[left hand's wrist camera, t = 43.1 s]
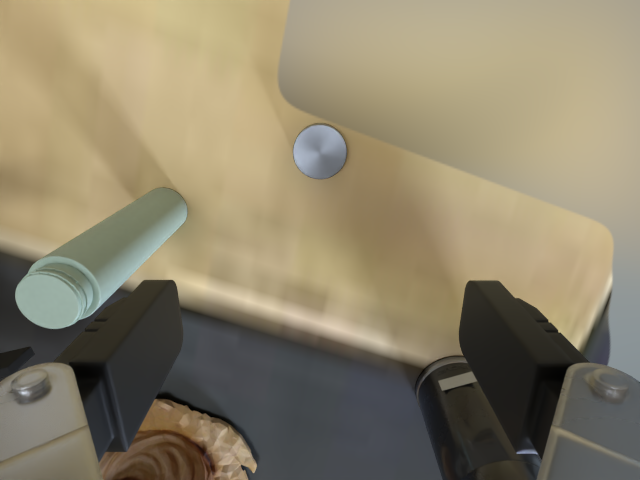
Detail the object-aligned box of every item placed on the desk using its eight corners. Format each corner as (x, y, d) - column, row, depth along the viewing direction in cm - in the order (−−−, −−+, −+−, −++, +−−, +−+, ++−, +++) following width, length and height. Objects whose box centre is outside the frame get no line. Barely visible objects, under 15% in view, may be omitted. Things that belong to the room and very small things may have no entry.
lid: (322, 111, 38) (322, 112, 36) (356, 151, 39) (357, 154, 37) (283, 147, 39) (281, 150, 37) (318, 185, 40) (317, 189, 39)
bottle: (193, 225, 42) (98, 329, 24) (151, 232, 42) (27, 340, 24) (180, 184, 40) (68, 261, 22) (137, 191, 41) (-7, 274, 23)
